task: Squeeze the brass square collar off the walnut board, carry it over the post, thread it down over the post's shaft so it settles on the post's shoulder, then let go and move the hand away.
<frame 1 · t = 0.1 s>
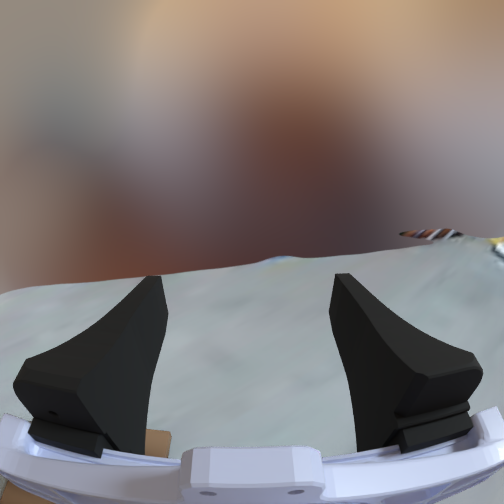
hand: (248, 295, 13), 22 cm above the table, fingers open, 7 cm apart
peg board: (77, 503, 19), on the table
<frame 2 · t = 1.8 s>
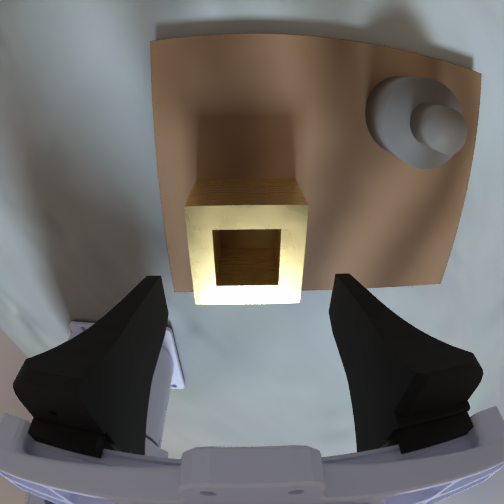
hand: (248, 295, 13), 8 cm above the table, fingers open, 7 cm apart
peg board: (329, 171, 19), on the table
brass collar: (246, 223, 19), point 1 cm above the table, touching peg board
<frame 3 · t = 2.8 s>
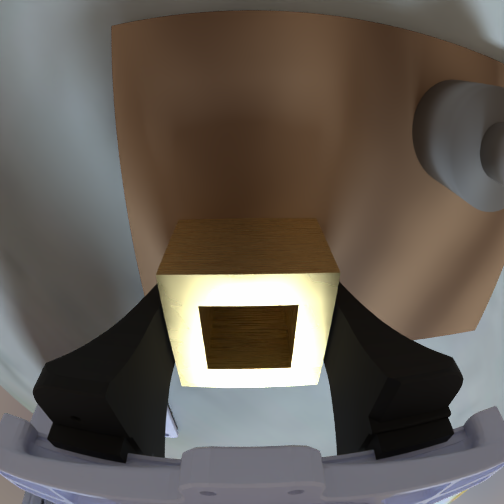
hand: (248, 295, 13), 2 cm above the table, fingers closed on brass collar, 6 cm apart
peg board: (359, 205, 14), on the table
brass collar: (248, 275, 14), point 1 cm above the table, touching gripper, peg board
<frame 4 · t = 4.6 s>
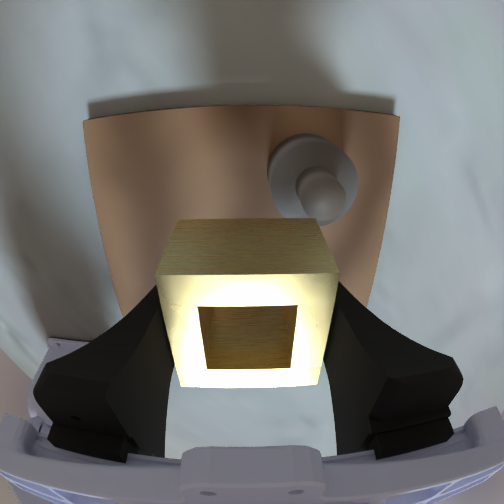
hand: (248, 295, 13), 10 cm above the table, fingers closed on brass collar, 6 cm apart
peg board: (241, 223, 22), on the table
brass collar: (247, 276, 14), point 8 cm above the table, touching gripper
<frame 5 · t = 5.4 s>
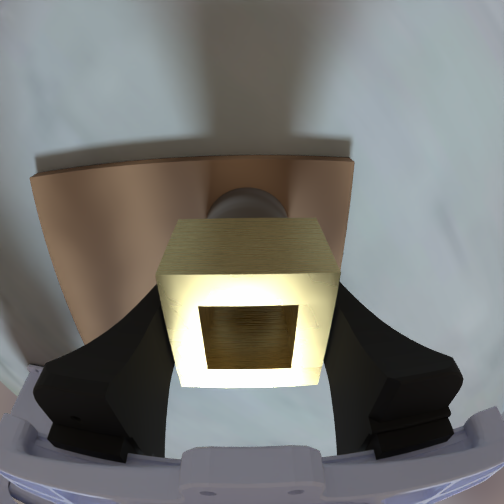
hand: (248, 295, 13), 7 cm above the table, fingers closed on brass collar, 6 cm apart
peg board: (188, 274, 22), on the table
brass collar: (247, 275, 14), point 6 cm above the table, touching gripper
when the fingers open (6 cm above the table, at t = 6.3 s): brass collar stays where it is, resting on peg board.
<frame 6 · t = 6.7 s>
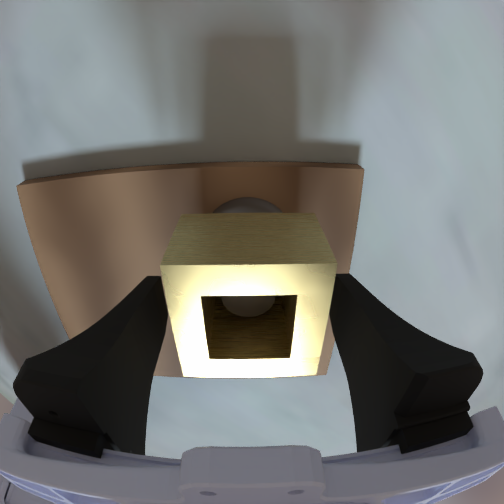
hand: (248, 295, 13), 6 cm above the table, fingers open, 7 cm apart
peg board: (185, 288, 20), on the table
brass collar: (248, 269, 15), point 4 cm above the table, touching peg board
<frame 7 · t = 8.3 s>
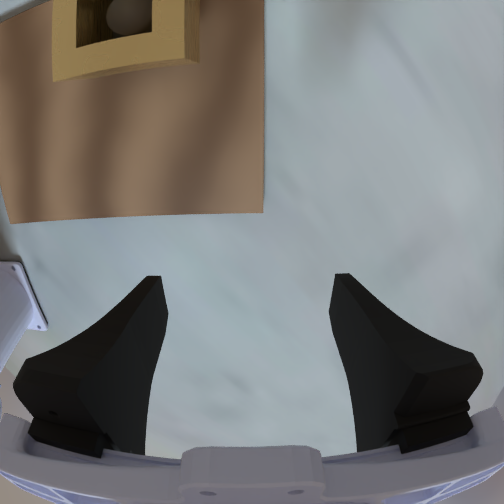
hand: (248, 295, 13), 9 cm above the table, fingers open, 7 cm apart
peg board: (104, 98, 17), on the table
brass collar: (142, 18, 12), point 4 cm above the table, touching peg board
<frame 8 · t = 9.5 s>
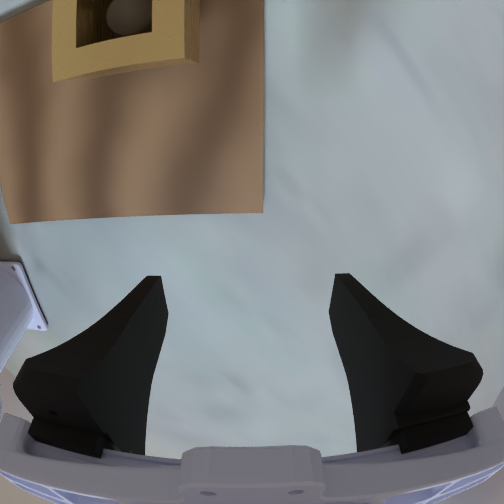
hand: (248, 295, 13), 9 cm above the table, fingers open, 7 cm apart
peg board: (104, 98, 17), on the table
brass collar: (142, 18, 12), point 4 cm above the table, touching peg board
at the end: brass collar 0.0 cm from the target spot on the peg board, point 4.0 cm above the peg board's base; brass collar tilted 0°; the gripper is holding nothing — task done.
